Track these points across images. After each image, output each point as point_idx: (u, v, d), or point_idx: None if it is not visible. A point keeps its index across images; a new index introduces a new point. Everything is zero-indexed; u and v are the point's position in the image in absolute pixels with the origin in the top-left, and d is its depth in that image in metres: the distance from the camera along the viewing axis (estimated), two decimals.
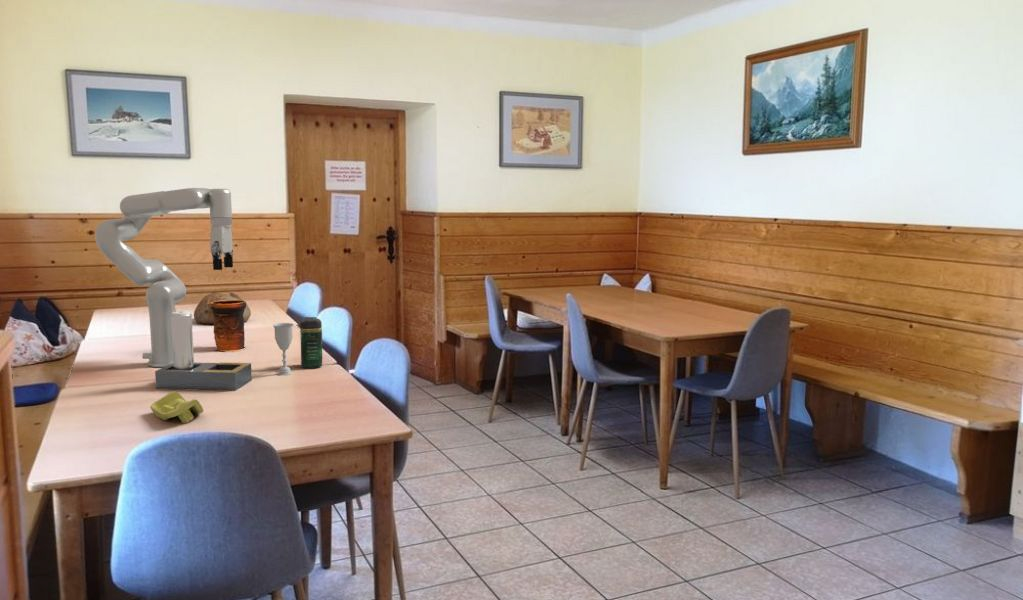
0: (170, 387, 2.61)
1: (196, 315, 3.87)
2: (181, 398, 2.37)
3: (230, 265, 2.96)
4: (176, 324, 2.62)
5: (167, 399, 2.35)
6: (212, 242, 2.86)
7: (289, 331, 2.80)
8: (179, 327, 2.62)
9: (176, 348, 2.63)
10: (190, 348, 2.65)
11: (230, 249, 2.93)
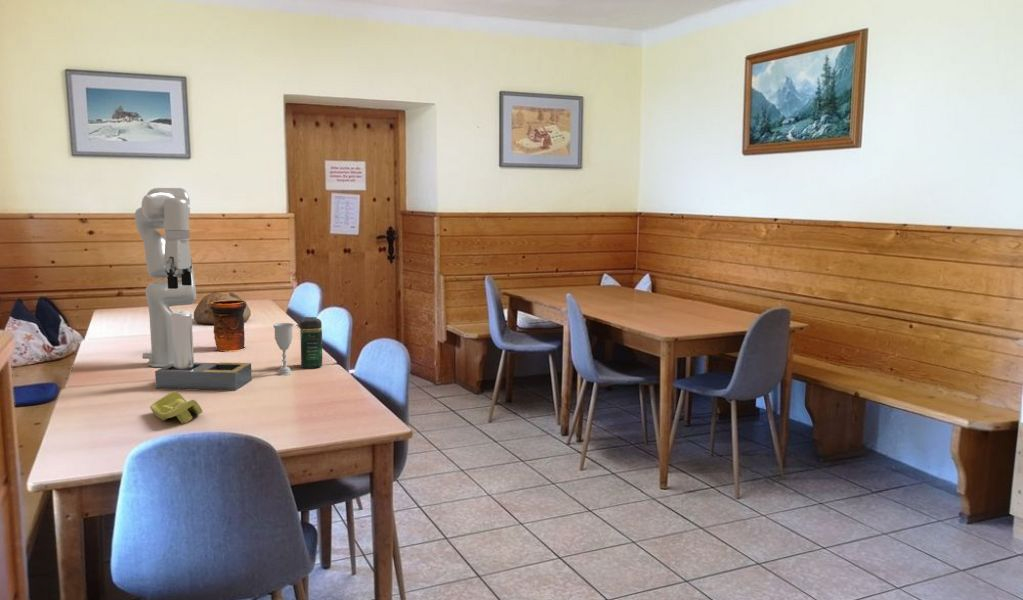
0: (170, 387, 2.61)
1: (196, 315, 3.87)
2: (181, 398, 2.37)
3: (188, 283, 2.67)
4: (176, 324, 2.62)
5: (167, 399, 2.34)
6: (166, 258, 2.57)
7: (289, 331, 2.80)
8: (179, 327, 2.62)
9: (176, 348, 2.63)
10: (190, 348, 2.65)
11: (188, 265, 2.64)
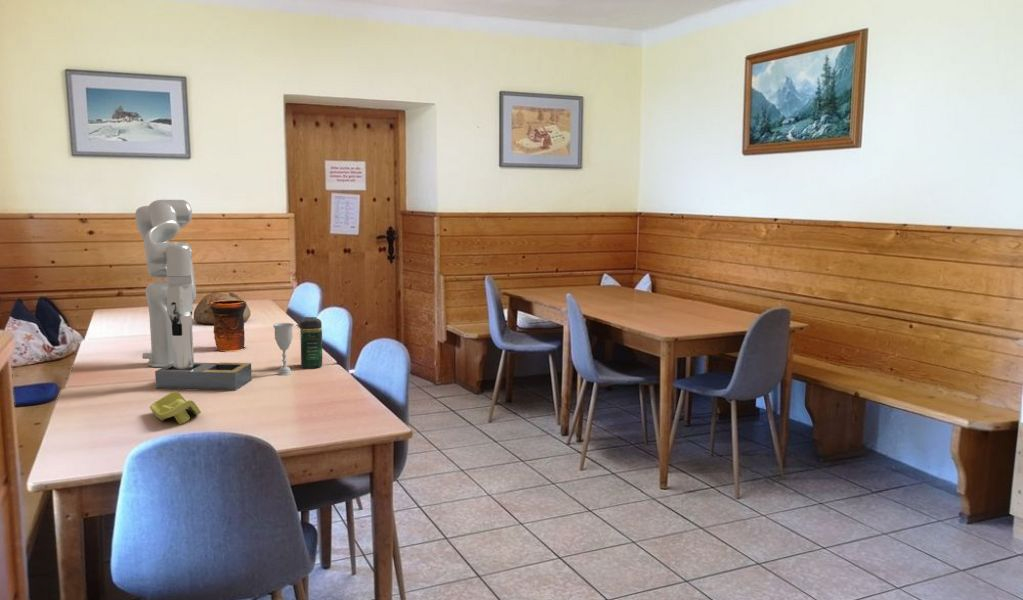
0: (170, 387, 2.61)
1: (196, 315, 3.87)
2: (182, 398, 2.37)
3: None
4: None
5: (167, 399, 2.34)
6: (169, 304, 2.59)
7: (289, 331, 2.80)
8: None
9: (176, 348, 2.63)
10: (190, 348, 2.65)
11: (190, 310, 2.66)
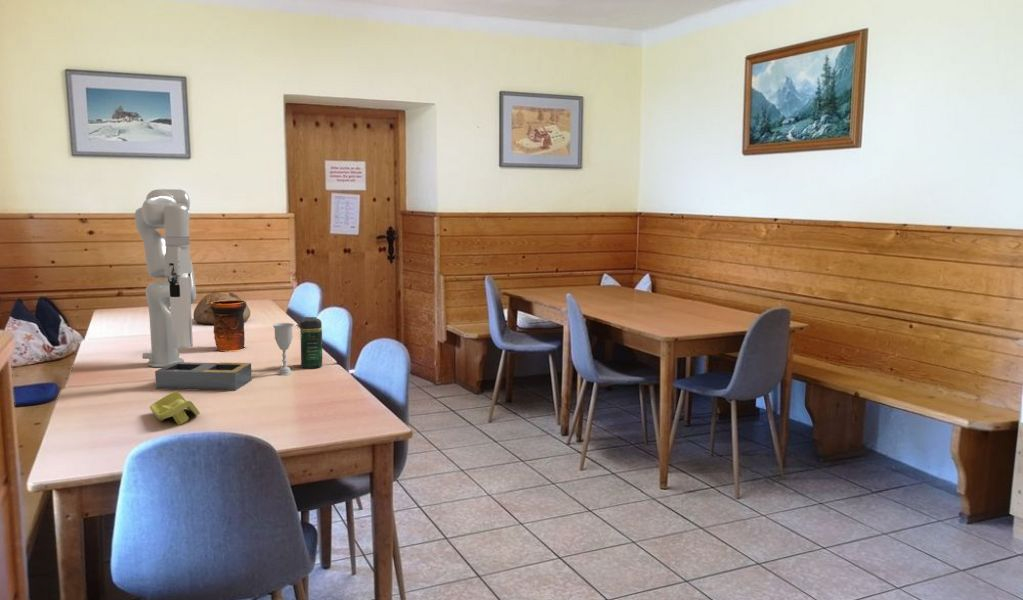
0: (170, 387, 2.61)
1: (195, 315, 3.87)
2: (182, 398, 2.36)
3: None
4: None
5: (168, 399, 2.34)
6: (167, 264, 2.57)
7: (289, 331, 2.80)
8: None
9: (174, 310, 2.61)
10: (188, 310, 2.63)
11: (188, 271, 2.65)
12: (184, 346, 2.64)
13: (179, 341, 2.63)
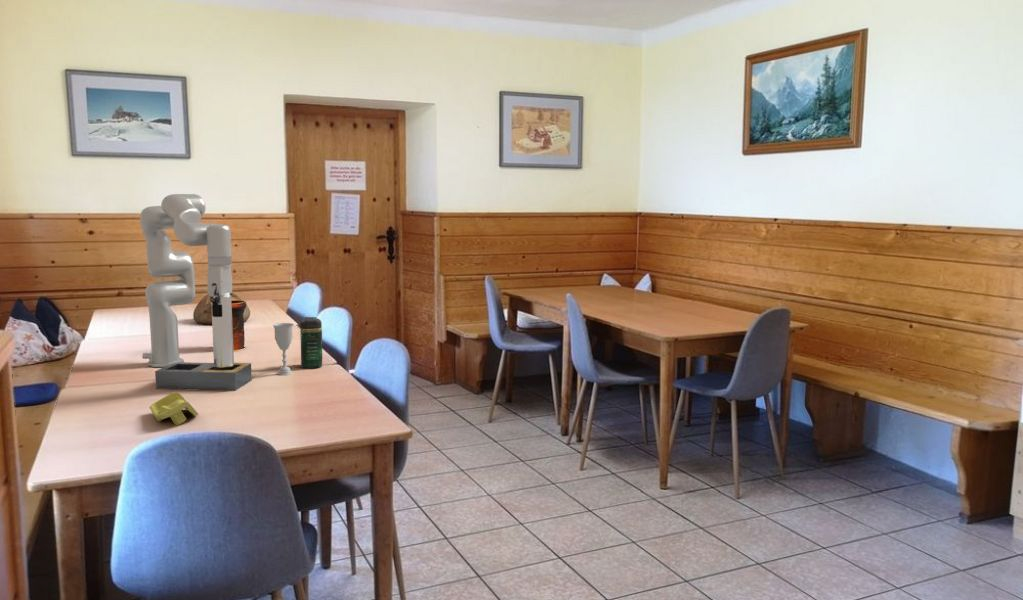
0: (170, 387, 2.61)
1: (195, 315, 3.87)
2: (182, 399, 2.36)
3: None
4: None
5: (168, 399, 2.34)
6: (209, 284, 2.57)
7: (289, 331, 2.80)
8: None
9: (216, 329, 2.61)
10: (230, 329, 2.63)
11: (229, 291, 2.65)
12: (226, 366, 2.64)
13: (221, 361, 2.63)
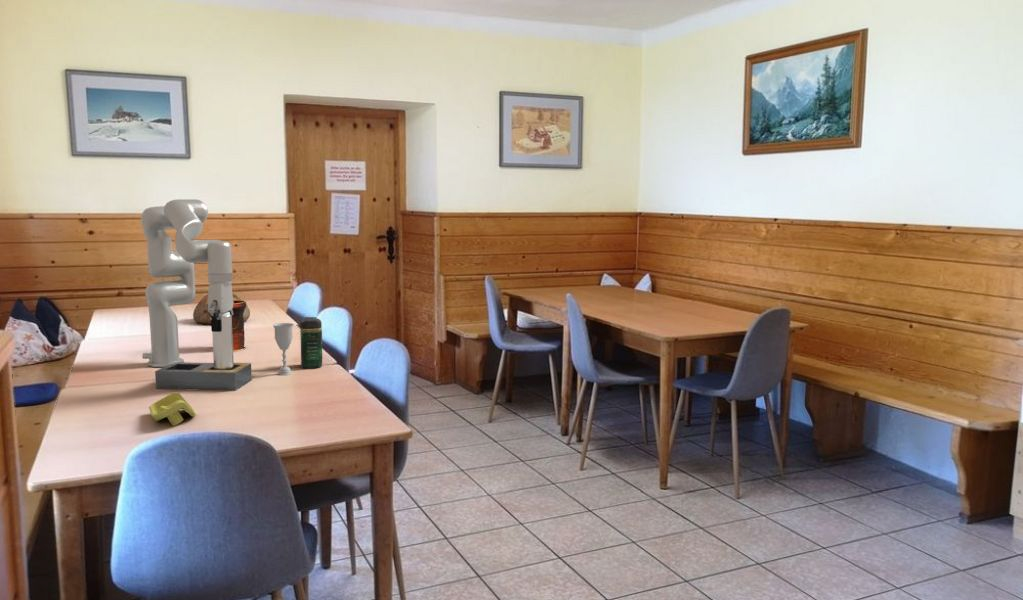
0: (170, 387, 2.61)
1: (195, 315, 3.87)
2: (182, 399, 2.36)
3: None
4: None
5: (168, 400, 2.34)
6: (210, 301, 2.58)
7: (289, 331, 2.80)
8: None
9: (217, 349, 2.62)
10: (230, 349, 2.64)
11: (230, 307, 2.66)
12: None
13: None
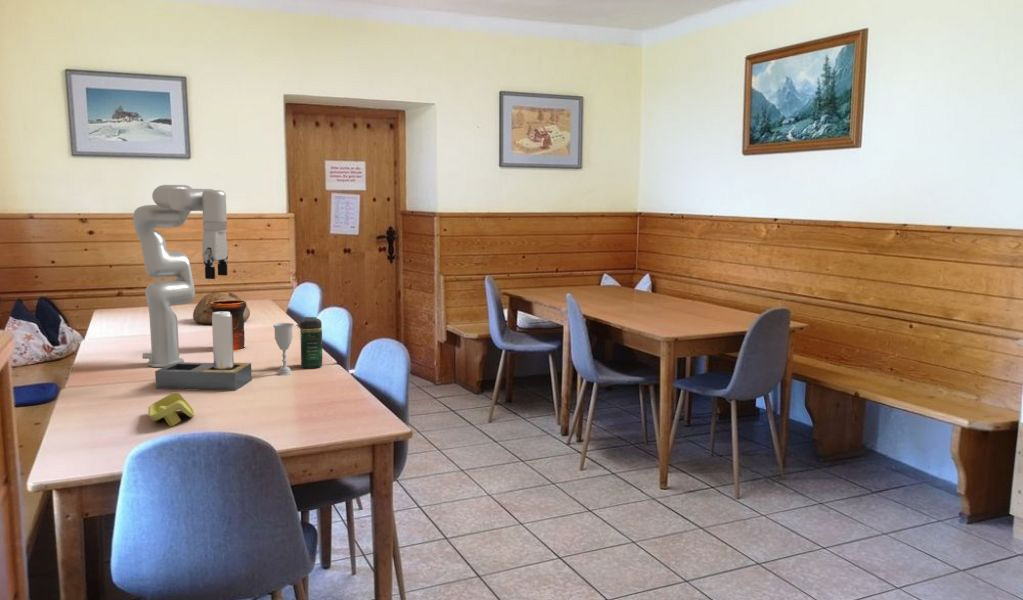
0: (170, 387, 2.61)
1: (195, 315, 3.87)
2: (182, 399, 2.35)
3: (224, 273, 2.73)
4: (217, 324, 2.61)
5: (168, 400, 2.34)
6: (204, 248, 2.62)
7: (289, 331, 2.80)
8: (220, 327, 2.61)
9: (217, 349, 2.62)
10: (230, 349, 2.64)
11: (224, 256, 2.69)
12: None
13: None
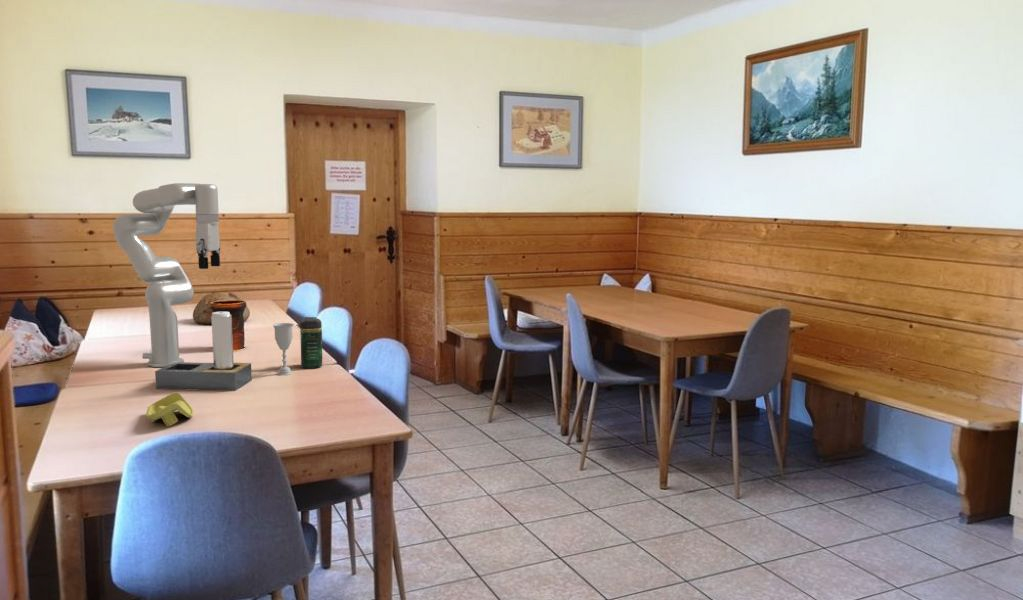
0: (170, 387, 2.61)
1: (195, 315, 3.87)
2: (182, 400, 2.35)
3: (217, 264, 2.84)
4: (217, 325, 2.61)
5: (168, 400, 2.34)
6: (198, 240, 2.74)
7: (289, 331, 2.80)
8: (220, 328, 2.61)
9: (216, 349, 2.62)
10: (230, 349, 2.64)
11: (217, 247, 2.81)
12: None
13: None
